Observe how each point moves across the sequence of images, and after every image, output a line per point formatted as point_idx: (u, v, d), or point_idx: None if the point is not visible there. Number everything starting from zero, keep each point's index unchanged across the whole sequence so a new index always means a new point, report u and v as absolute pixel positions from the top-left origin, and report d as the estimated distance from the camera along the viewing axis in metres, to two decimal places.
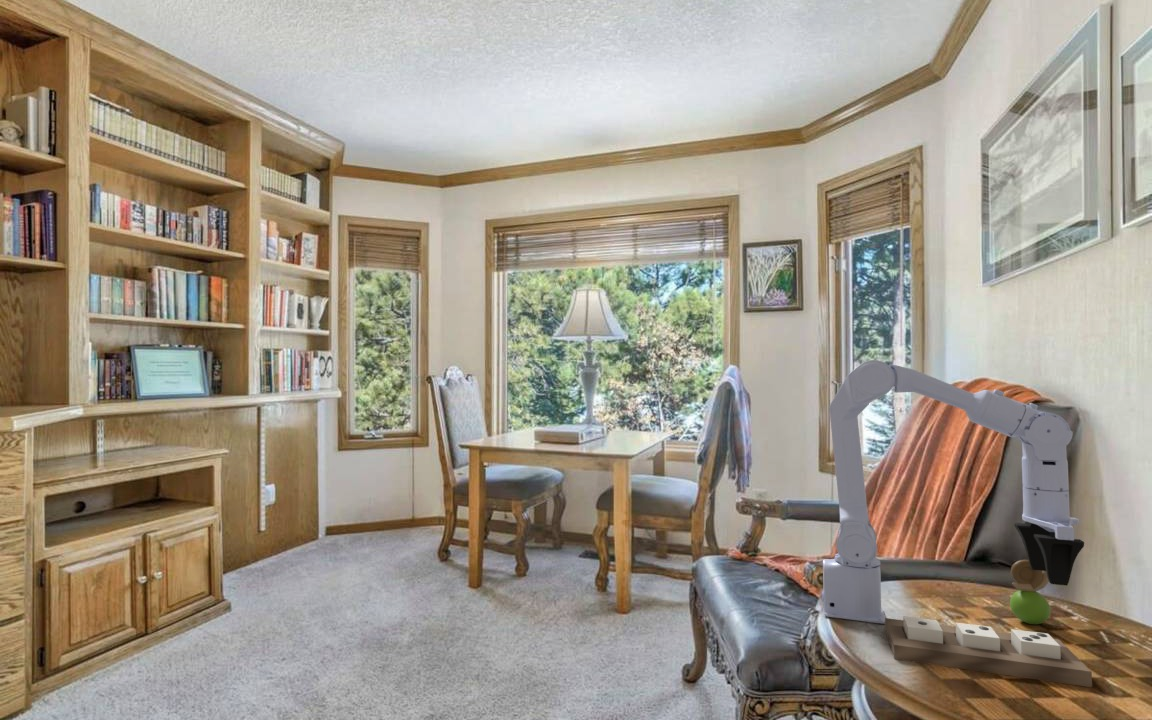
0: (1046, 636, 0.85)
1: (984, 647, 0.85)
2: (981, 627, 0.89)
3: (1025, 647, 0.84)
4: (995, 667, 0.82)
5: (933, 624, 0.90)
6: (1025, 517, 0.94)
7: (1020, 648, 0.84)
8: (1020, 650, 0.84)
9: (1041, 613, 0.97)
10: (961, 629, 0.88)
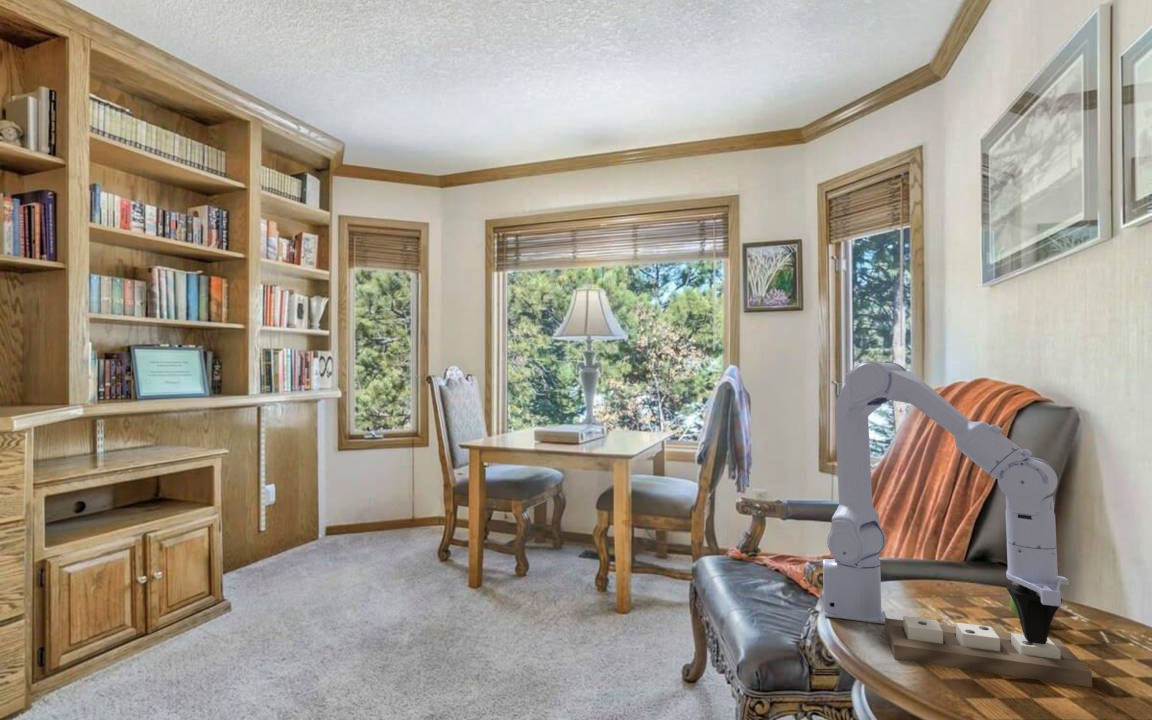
0: None
1: (984, 647, 0.85)
2: (981, 627, 0.89)
3: (1026, 652, 0.84)
4: (995, 667, 0.82)
5: (933, 624, 0.90)
6: (1009, 575, 0.86)
7: (1020, 652, 0.84)
8: None
9: None
10: (961, 629, 0.88)
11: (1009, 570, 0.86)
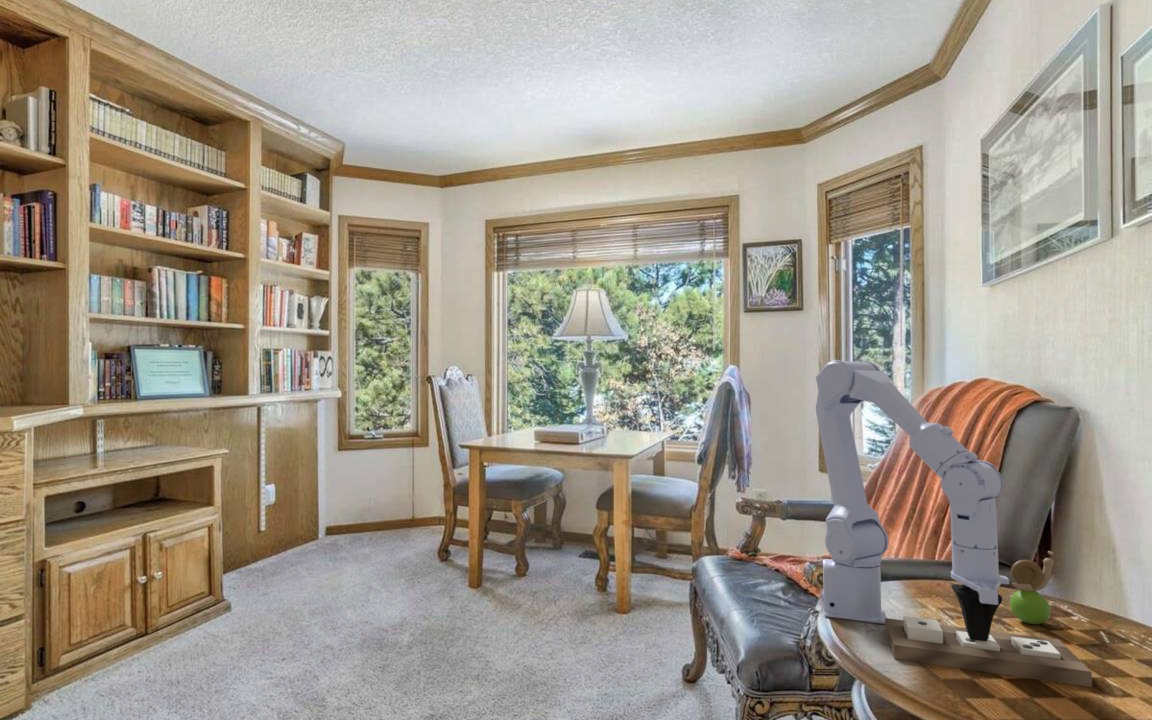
0: (1046, 644, 0.85)
1: None
2: None
3: None
4: (995, 667, 0.82)
5: (933, 624, 0.90)
6: (953, 575, 0.88)
7: None
8: None
9: (1041, 613, 0.97)
10: (961, 637, 0.88)
11: (953, 570, 0.89)
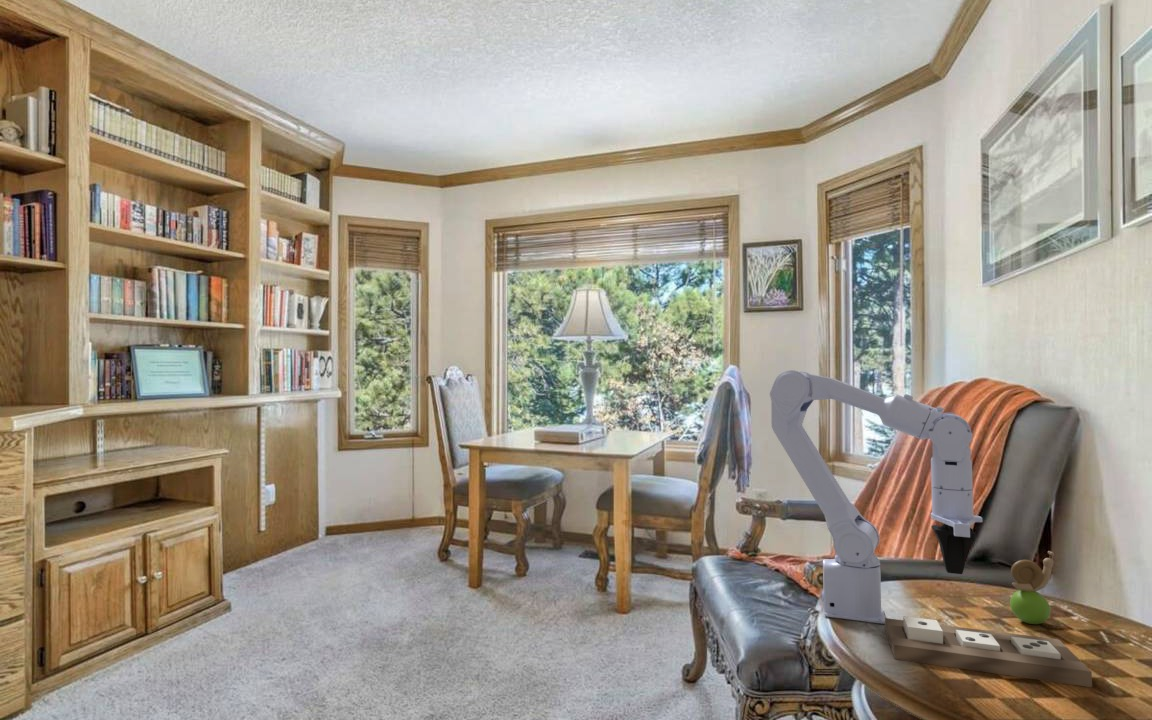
0: (1046, 644, 0.85)
1: None
2: (981, 634, 0.88)
3: None
4: (995, 667, 0.82)
5: (933, 624, 0.90)
6: (932, 515, 0.98)
7: None
8: None
9: (1041, 613, 0.97)
10: (961, 636, 0.88)
11: (932, 511, 0.98)
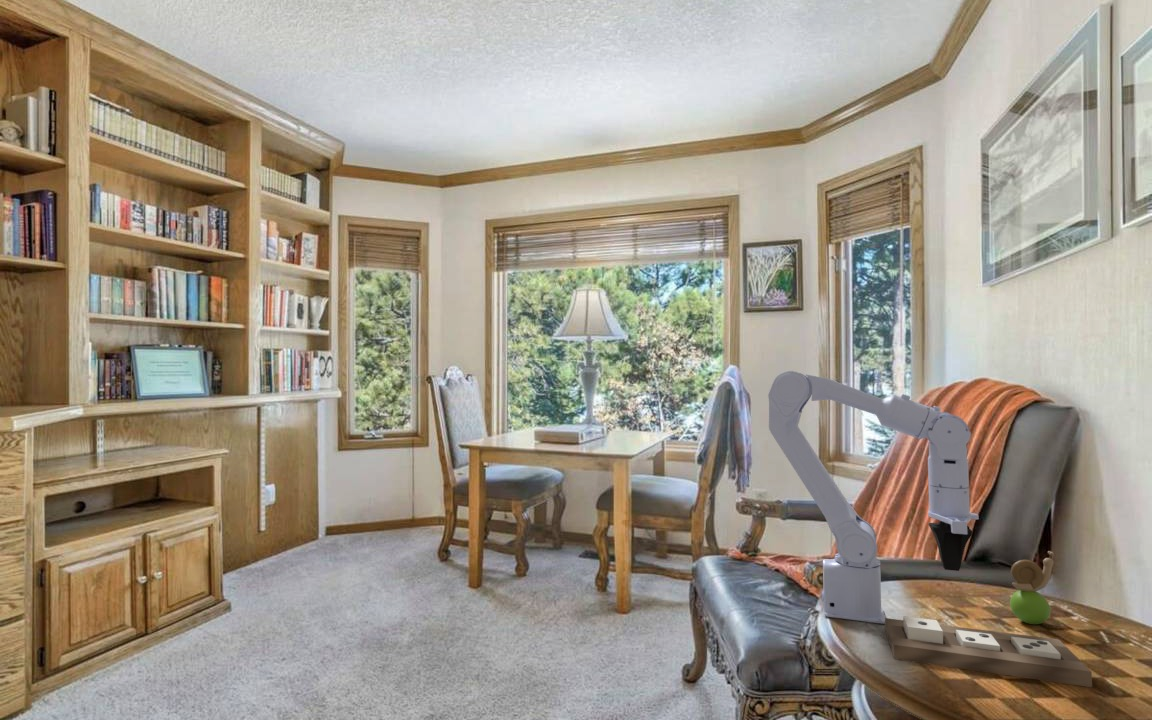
0: (1046, 644, 0.85)
1: None
2: (981, 634, 0.88)
3: None
4: (995, 667, 0.82)
5: (933, 624, 0.90)
6: (929, 513, 0.99)
7: None
8: None
9: (1041, 613, 0.97)
10: (961, 636, 0.88)
11: (930, 508, 1.00)
